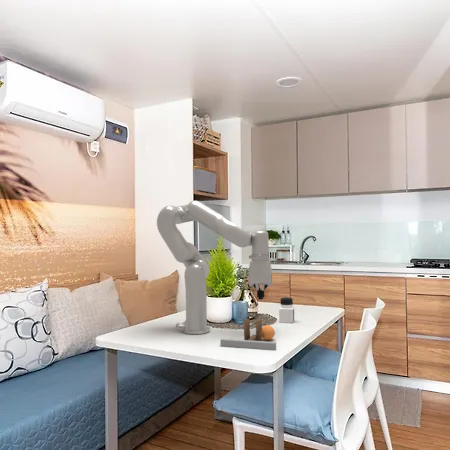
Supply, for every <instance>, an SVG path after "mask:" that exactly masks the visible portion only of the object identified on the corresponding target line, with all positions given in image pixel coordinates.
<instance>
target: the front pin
mask: <svg viewBox="0 0 450 450" xmlns="http://www.w3.org/2000/svg"><path fill="white" fill-rule="evenodd" d="M248 340H250V341H256V334H252V335H250V338H249V339H248Z"/></svg>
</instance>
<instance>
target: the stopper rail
mask: <svg viewBox="0 0 450 450" xmlns="http://www.w3.org/2000/svg"><path fill="white" fill-rule="evenodd" d="M219 342H220V345H219V346H220V347H227V348H240V349H241V348H242V349H253V350H254V349H255V350H256V349H257V350H267V351H269V350H270V351H276V349H277V341H267V340H265V341H263V340H262V341H250V340H244V339H232V338H231V339H230V338H221V339H220V341H219Z"/></svg>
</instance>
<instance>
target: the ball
mask: <svg viewBox="0 0 450 450" xmlns="http://www.w3.org/2000/svg"><path fill="white" fill-rule="evenodd" d="M275 333H276V332H275V329H274V328H273V326H271V325H267V324H266V325H264V326H262V340H265V341H271V340H272V339H274V337H275Z"/></svg>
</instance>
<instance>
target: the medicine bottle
mask: <svg viewBox="0 0 450 450" xmlns="http://www.w3.org/2000/svg"><path fill="white" fill-rule="evenodd" d="M293 303H294V302H293V298H292V297H288V296H285V297H284V296H283V297H281V298H280V306H279V308H278V317H279V318H278V320H279V321H278V322H279V323H280V324H294V322H295V306H294V305H293Z"/></svg>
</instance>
